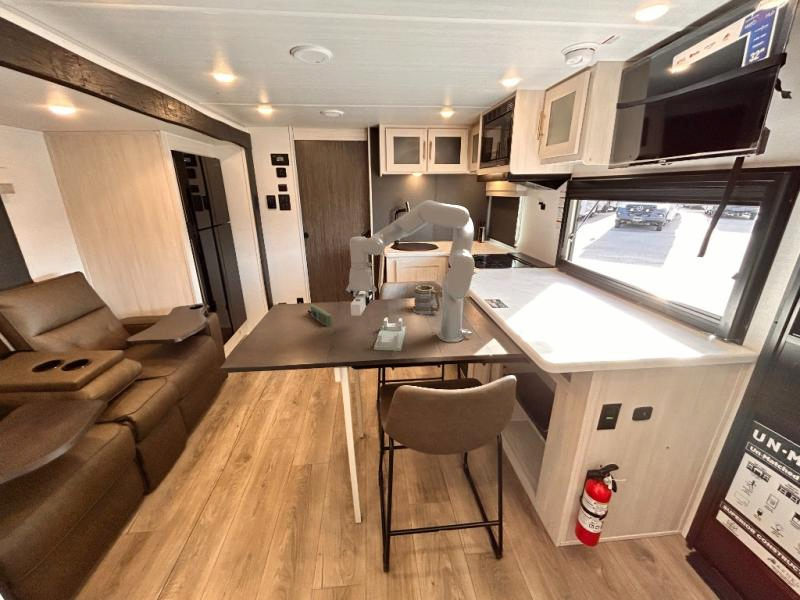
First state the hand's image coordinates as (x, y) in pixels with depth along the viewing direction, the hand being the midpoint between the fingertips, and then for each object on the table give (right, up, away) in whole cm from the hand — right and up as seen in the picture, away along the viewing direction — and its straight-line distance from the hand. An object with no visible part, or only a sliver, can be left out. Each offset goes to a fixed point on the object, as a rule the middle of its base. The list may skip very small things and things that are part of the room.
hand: (362, 304), depth 142 cm
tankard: (+34, -5, +35) cm, 49 cm away
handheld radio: (-27, -9, +27) cm, 39 cm away
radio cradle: (+13, -16, +4) cm, 21 cm away
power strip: (0, -1, 0) cm, 1 cm away
